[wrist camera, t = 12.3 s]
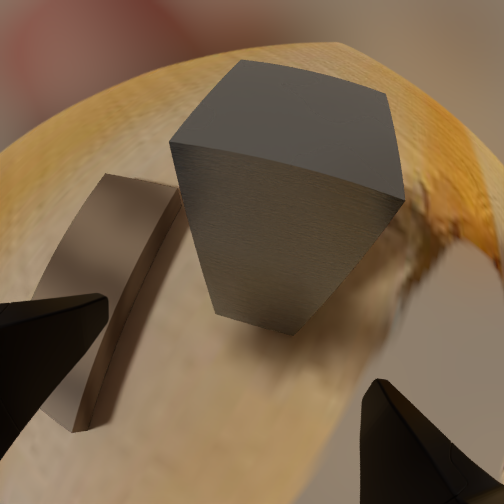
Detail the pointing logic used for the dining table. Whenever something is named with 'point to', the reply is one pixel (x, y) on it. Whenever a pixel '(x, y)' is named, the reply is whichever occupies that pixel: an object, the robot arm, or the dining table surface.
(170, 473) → the dining table surface
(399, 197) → the grey rectangular block
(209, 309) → the dining table surface
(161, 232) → the walnut body
